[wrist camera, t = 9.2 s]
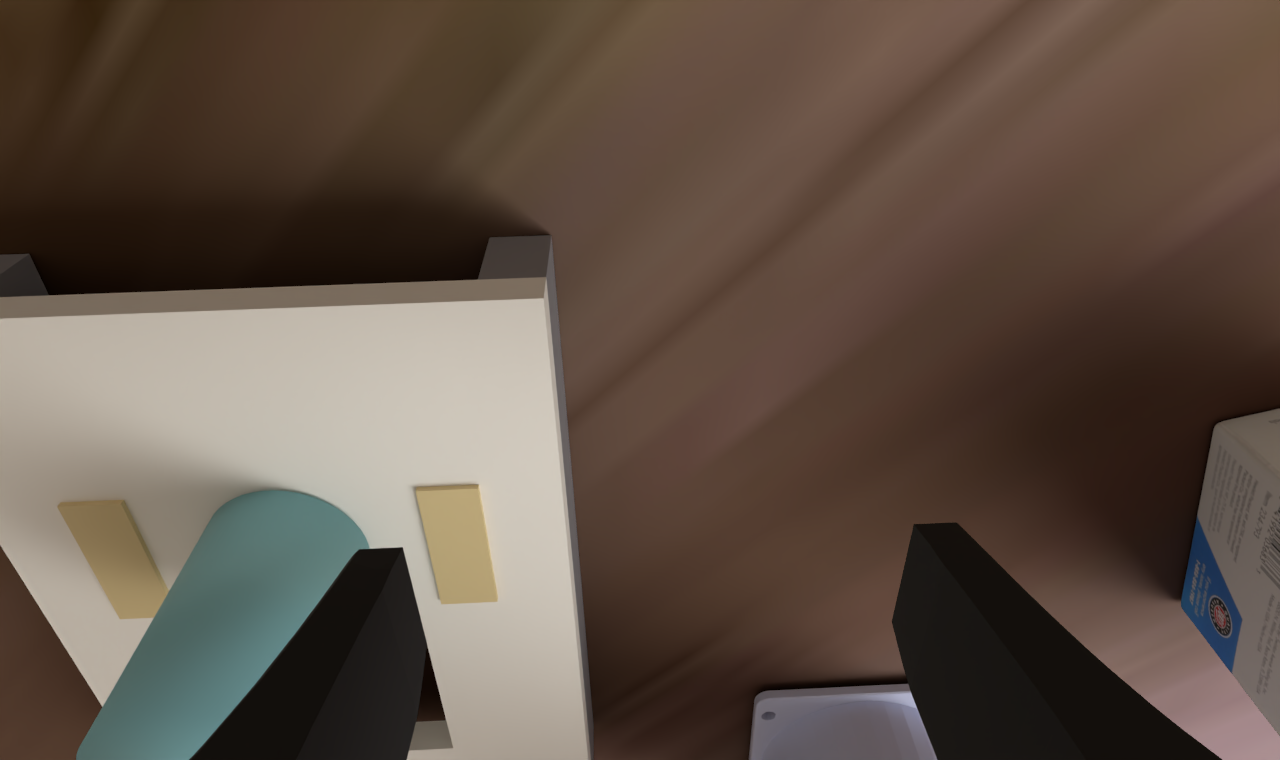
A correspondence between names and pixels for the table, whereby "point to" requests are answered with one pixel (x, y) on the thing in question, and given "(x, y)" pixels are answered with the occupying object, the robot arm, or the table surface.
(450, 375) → the board
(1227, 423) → the ink box
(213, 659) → the peg
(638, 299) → the table surface
